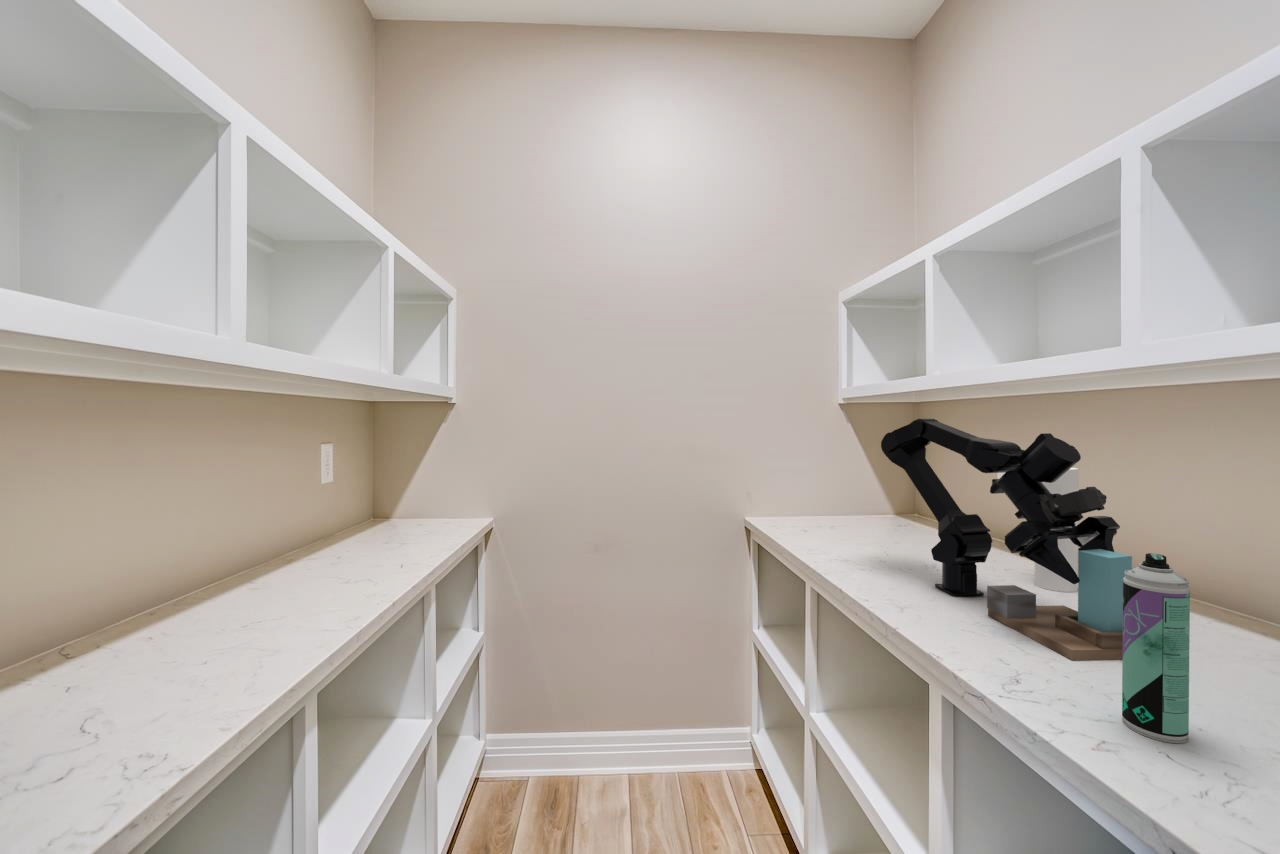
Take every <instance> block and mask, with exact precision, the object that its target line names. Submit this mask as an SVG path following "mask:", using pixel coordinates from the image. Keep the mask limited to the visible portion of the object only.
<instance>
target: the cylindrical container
mask: <svg viewBox="0 0 1280 854" xmlns="http://www.w3.org/2000/svg"><path fill="white" fill-rule="evenodd" d="M1042 483H1043V485H1044V486H1045V487H1046V488H1047V489H1048V490H1049V492H1050V493H1051V494H1061V495H1064V494H1068V493H1071V492H1075V491H1079V468H1077V467H1071V468H1070V469H1069V470H1068V471H1067V472H1066V473H1064V474H1063V475H1062V476H1061V477H1060V478H1059V479H1057V480H1056V481H1055V482H1053V483H1047V482H1042ZM1075 524H1076V525H1075V526H1077V525H1078V524H1079V521H1076V522H1075ZM1058 548H1059V550H1060V551H1061V552H1062V554H1063V555H1064V557H1065V558H1066V560H1067V561H1068V562H1069V564H1070V565H1071V567H1072V568H1073V570H1074V571H1075V573H1076V574H1077V576H1078V551H1079V550H1078V549H1079V546H1077V545H1075V544H1074V543H1073V542H1072V541H1071V540H1070V539H1069V538H1067V539H1058ZM1033 575H1034V583H1033V584H1034V585H1035V586H1037V587H1038V588H1041V589H1043V590H1048V591H1054V592H1061V593H1074V592H1077V591H1078V583H1077V584H1072V583H1071V582H1069V581H1067V580H1066V579H1064V578H1062V577H1060V576H1059V575H1057V574H1055V573H1054V572H1052V571H1050V570H1048V569H1047V568H1045V567H1043V566H1041V565H1039V564H1037V563H1036V562H1034V574H1033Z"/></svg>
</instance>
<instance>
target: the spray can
mask: <svg viewBox="0 0 1280 854" xmlns="http://www.w3.org/2000/svg"><path fill="white" fill-rule="evenodd" d="M1144 559H1145V560H1143V561H1142V563H1141V562H1140V563H1138V566H1137V567H1134V568H1132V569H1131V570H1126V571H1125V572H1124V574H1125V577H1124V578H1123V659H1121V661H1122V662H1121V663H1122V667H1121V668H1122V683H1121V684H1122V685H1121V686H1122V687H1121V688H1122V689H1121V690H1122V691H1121V695H1122V696H1121V698H1122V699H1121V703H1122V704H1121V716H1122V719H1121V720H1122V723H1123V724H1124V725H1125V726H1126V727H1127V728H1129V729H1130V730H1132V731H1134V732H1135V733H1137V734H1139V735H1142V736H1145V737H1147V738H1150V739H1153V740H1156V741H1159V742H1164V743H1170V744H1185V743H1186V742H1188V740H1189V734H1190V733H1189V732H1190V731H1189V728H1190V727H1189V726H1190V725H1189V724H1190V722H1189V721H1190V720H1189V719H1190V718H1189V717H1190V629H1191V627H1190V625H1191V623H1190V620H1191V619H1190V617H1191V615H1190V611H1191V610H1190V609H1191V588H1190V587H1189V586H1188V585H1189V584H1190V583H1189V581H1190V580H1188V579H1187V578H1185V577H1183V576H1181V574H1180V575H1179V574H1178V573H1177V572H1175V571H1174V568H1173V567H1171V566H1170V564H1169V563H1167V556H1165V555H1162V554H1160V553H1151V552H1150V553H1145V557H1144Z"/></svg>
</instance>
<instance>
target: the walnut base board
mask: <svg viewBox="0 0 1280 854" xmlns="http://www.w3.org/2000/svg"><path fill="white" fill-rule="evenodd" d="M986 589H987V590H986V602H987V603H986V609H987V616H989V617H991V618H993V619H995V620H996V621H998V622H999V623H1002V624H1003V625H1005V624H1006V625H1005V626H1007V625H1008V626H1007V627H1010V628H1011V629H1013V630H1014V631H1016V630H1017V632H1018V631H1019V633H1020V632H1021V633H1020V634H1022V633H1023V634H1022V635H1025V636H1026V637H1027V638H1029V637H1030V639H1031V638H1032V640H1033V641H1035V642H1037V643H1039V644H1040V645H1042V646H1044V647H1047V648H1048V649H1050V650H1052V651H1053V650H1054V652H1055V651H1056V652H1055V653H1056V654H1059V653H1060V654H1059V655H1061V656H1063V657H1065V658H1066V657H1067V659H1068V660H1070V661H1102V660H1103V661H1106V660H1110V661H1112V660H1115V661H1116V660H1123V632H1106V633H1102V632H1100V631H1098V630H1096V629H1093V628H1091V627H1089V626H1087V625H1084V624H1082V623H1080V622H1078V610H1075V609H1072V608H1071V607H1068V606H1066V605H1064V604H1063V605H1037V594H1036V593H1034V592H1031V591H1029V590H1026V589H1025V588H1022V587H1020V586H1017V585H1016V584H1014V585H1013V584H1012V585H1010V584H1009V585H1007V584H1004V585H987V586H986Z"/></svg>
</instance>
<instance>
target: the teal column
mask: <svg viewBox="0 0 1280 854" xmlns="http://www.w3.org/2000/svg"><path fill="white" fill-rule="evenodd" d="M1131 569H1133V556H1132V555H1130V554H1129V555H1128V554H1124V553H1119V552H1116V551H1114V552H1111V551H1107V550H1102V549H1094V550H1083V551H1079V550H1078V578H1079V579H1080V582H1078V590H1077V591H1078V592H1077V611H1078V622H1080V623H1082V624H1084V625H1087V626H1089V627H1091V628H1093V629H1096V630H1098V631H1100V632H1102V633H1106V632H1123V578H1124V577H1125V574H1124V572H1125V571H1126V570H1131Z"/></svg>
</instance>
